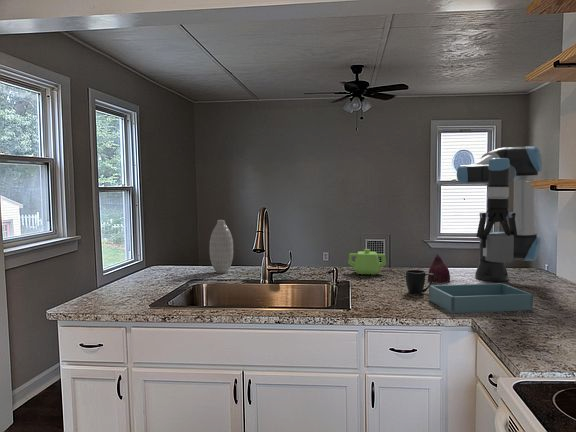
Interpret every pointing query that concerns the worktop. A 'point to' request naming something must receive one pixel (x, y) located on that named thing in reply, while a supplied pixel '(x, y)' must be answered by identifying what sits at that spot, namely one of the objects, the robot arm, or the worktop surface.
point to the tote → (480, 298)
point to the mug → (416, 281)
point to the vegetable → (439, 271)
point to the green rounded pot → (367, 262)
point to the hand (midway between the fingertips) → (496, 255)
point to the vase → (221, 247)
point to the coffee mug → (500, 248)
